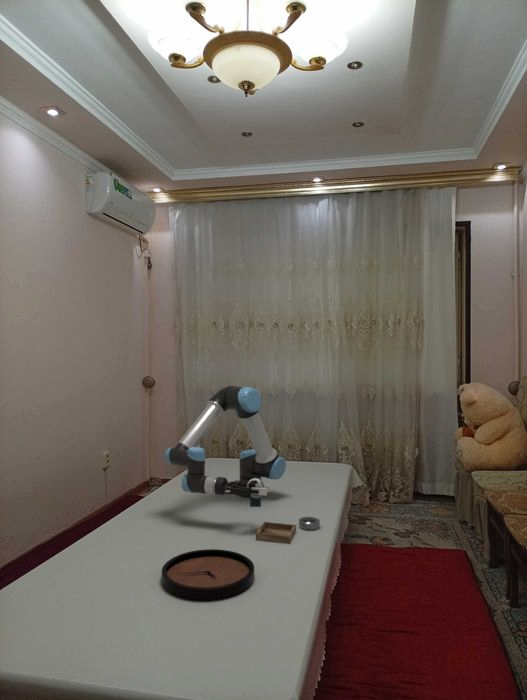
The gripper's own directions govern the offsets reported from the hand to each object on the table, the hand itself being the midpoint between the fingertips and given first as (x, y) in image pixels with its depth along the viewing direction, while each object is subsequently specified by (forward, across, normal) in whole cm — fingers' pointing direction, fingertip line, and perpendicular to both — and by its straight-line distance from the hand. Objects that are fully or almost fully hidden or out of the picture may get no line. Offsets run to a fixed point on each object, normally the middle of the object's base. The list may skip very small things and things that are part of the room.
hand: (268, 490), depth 218 cm
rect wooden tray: (+4, +2, -18) cm, 19 cm away
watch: (-5, 0, -7) cm, 9 cm away
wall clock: (-9, +46, -19) cm, 50 cm away
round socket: (+15, -12, -18) cm, 27 cm away
